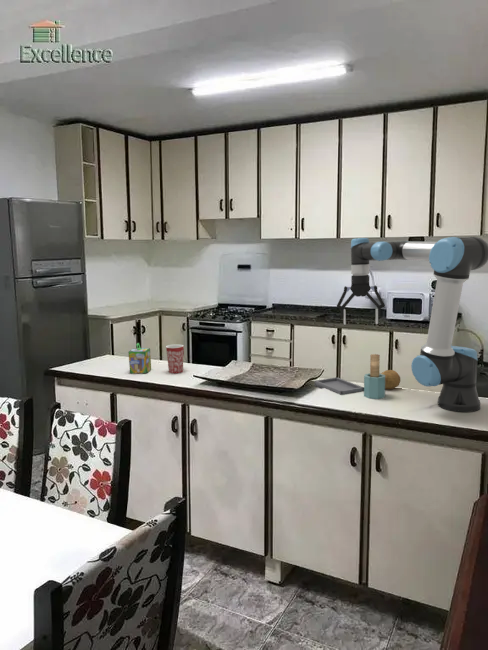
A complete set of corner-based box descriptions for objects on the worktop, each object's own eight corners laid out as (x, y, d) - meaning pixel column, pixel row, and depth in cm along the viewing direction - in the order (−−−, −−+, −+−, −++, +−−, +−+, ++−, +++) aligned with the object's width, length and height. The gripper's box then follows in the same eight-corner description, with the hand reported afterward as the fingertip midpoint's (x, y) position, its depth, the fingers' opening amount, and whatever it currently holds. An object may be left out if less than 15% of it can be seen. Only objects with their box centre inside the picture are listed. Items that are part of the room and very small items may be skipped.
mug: (179, 374, 262) (177, 348, 260) (163, 373, 266) (162, 347, 264) (191, 368, 273) (190, 343, 271) (176, 367, 277) (175, 342, 275)
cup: (389, 399, 213) (389, 376, 211) (372, 402, 209) (373, 379, 208) (376, 394, 220) (376, 372, 218) (360, 397, 217) (360, 374, 215)
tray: (364, 393, 222) (364, 387, 222) (340, 397, 217) (340, 391, 217) (336, 382, 240) (336, 377, 240) (314, 385, 235) (314, 380, 235)
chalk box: (146, 373, 266) (145, 345, 263) (129, 373, 267) (127, 345, 264) (152, 369, 275) (150, 341, 272) (135, 369, 276) (133, 341, 274)
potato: (402, 385, 232) (402, 368, 231) (398, 394, 219) (398, 375, 218) (379, 383, 236) (380, 366, 235) (374, 392, 223) (374, 373, 222)
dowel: (380, 396, 214) (381, 355, 211) (373, 397, 212) (374, 356, 209) (375, 394, 217) (375, 353, 214) (368, 395, 215) (368, 354, 213)
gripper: (389, 273, 226) (389, 322, 229) (330, 275, 230) (331, 323, 233) (391, 274, 219) (391, 324, 221) (330, 276, 222) (331, 325, 225)
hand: (360, 324), depth 227 cm, fingers open, 13 cm apart
